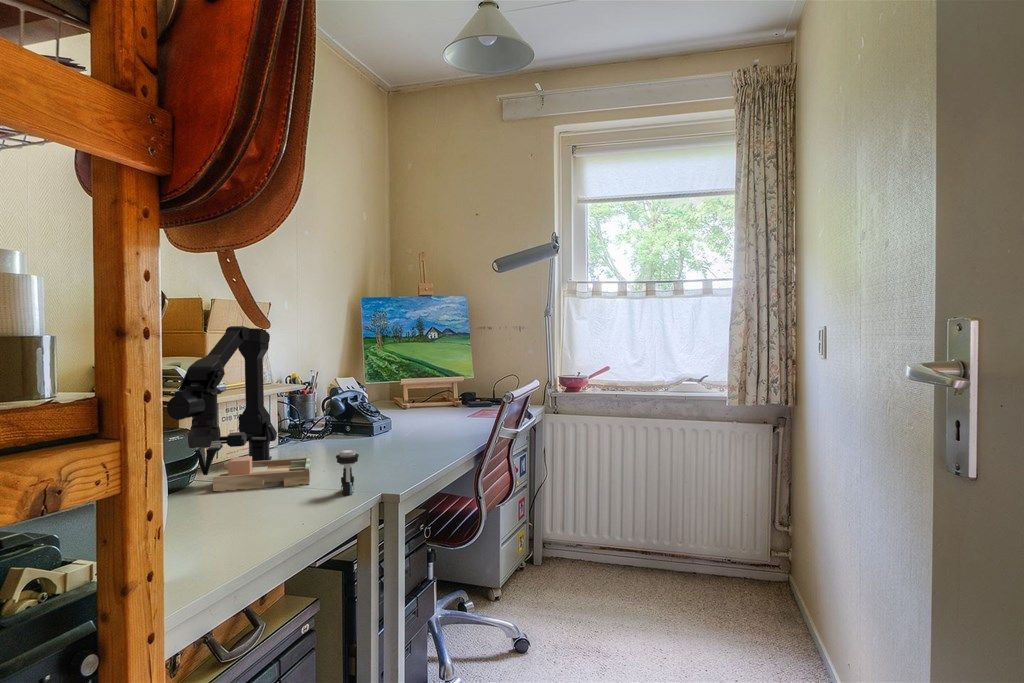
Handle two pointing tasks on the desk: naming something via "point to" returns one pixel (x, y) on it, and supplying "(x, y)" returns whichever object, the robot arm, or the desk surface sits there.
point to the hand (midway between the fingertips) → (205, 474)
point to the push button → (347, 469)
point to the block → (240, 465)
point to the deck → (267, 475)
